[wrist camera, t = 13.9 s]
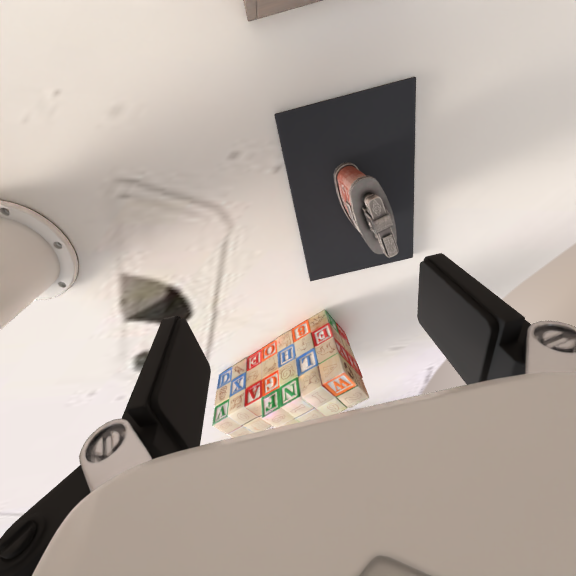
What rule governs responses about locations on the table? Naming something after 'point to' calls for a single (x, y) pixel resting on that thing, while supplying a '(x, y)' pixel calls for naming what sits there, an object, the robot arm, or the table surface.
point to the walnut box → (271, 7)
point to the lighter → (367, 208)
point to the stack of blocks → (290, 380)
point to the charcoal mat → (365, 156)
